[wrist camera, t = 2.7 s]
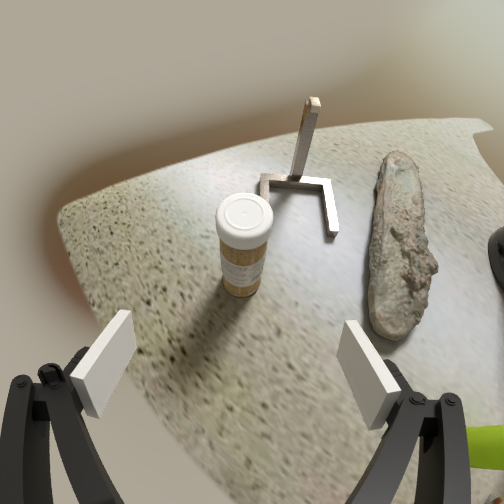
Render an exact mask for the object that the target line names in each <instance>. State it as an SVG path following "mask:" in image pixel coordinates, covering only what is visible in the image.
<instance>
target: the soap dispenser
mask: <svg viewBox="0 0 504 504" xmlns="http://www.w3.org/2000/svg"><path fill="white" fill-rule="evenodd" d="M466 432H467V440H468V449H469V460H470V467H471V468H481V469H494V470H504V425H497V426H483V427H466Z"/></svg>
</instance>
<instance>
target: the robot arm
mask: <svg viewBox="0 0 504 504" xmlns="http://www.w3.org/2000/svg"><path fill="white" fill-rule="evenodd" d="M488 251H489V258H490V262H491V266H492V269H493V271H494V274H495V276H496V278H497V280H498V282H499V284H500V286H501V287H502V289H503V290H504V226H503V227H501V228H499V229H498V230H496V231H495V232H494V233H493V234H492V235H491V237H490V239H489V244H488ZM136 348H137V344H136V338H135V333H134V327H133V320H132V314H131V311H128V310H119V312H118V313H117V314H116V315H115V317H114V318H113V319H112V320H111V322H110V323H109V324H108V325H107V327H106V328H105V329H104V331H103V332H102V333H101V334H100V336H99V337H98V338H97V340H96V341H95V342H94V344H93V345H92V346H91V348H90V347H84V348H82V349H80V350H79V351H78V352H77V353H76V354H75V356H74V358H72V359H71V361H70V362H69V363H68V365H67V366H66V367H65V369H64V370H63V371H62V370H61V368H60V366H59V365H57V364H54V363H48V364H45V365H43V366H42V367H40V368H39V370H38V376H39V379H40V381H41V383H33V382H32V380H31V378H30V377H29V376H27V375H19V376H17V377H15V378H14V379H13V380H12V382H11V385H10V390H9V394H8V398H7V403H6V407H5V412H4V417H3V423H2V429H1V436H0V504H53V497H52V488H51V477H50V454H49V431H50V421H51V425H52V429H53V432H54V436H55V440H56V443H57V446H58V450H59V453H60V456H61V459H62V462H63V464H64V467H65V470H66V473H67V475H68V477H69V481H70V483H71V485H72V488H73V490H74V493H75V495H76V497H77V500H78V502H79V504H124V502H123V500H122V499H121V497H120V495H119V494H118V492H117V490H116V488H115V487H114V485H113V483H112V481H111V479H110V477H109V475H108V474H107V472H106V470H105V468H104V466H103V464H102V462H101V459H100V457H99V455H98V453H97V451H96V449H95V447H94V444H93V442H92V440H91V437H90V435H89V433H88V430H87V428H86V425H85V422H84V420H83V417H82V415H81V411H82V410H83V408H84V410H85V412H86V414H87V415H88V416H91V417H94V418H98V419H100V417H101V415H102V413H103V411H104V409H105V407H106V405H107V403H108V401H109V399H110V397H111V395H112V393H113V391H114V389H115V388H116V386H117V384H118V382H119V380H120V378H121V376H122V374H123V372H124V370H125V368H126V367H127V365H128V363H129V361H130V359H131V357H132V355H133V354H134V352H135V350H136ZM336 356H337V358H338V361H339V363H340V365H341V367H342V370H343V372H344V374H345V376H346V379H347V381H348V383H349V385H350V388H351V390H352V392H353V395H354V397H355V399H356V402H357V404H358V406H359V409H360V411H361V414H362V416H363V418H364V421H365V423H366V425H367V428H368V430H374V429H379V428H382V427H383V425H384V423H385V421H387V424H388V428H387V430H386V431H385V433H384V435H383V436H382V438H381V439H382V440H381V442H380V444H379V446H378V448H377V450H376V452H375V454H374V456H373V458H372V460H371V461H370V463H369V465H368V467H367V469H366V470H365V472H364V474H363V476H362V477H361V479H360V481H359V482H358V484H357V486H356V487H355V489H354V490H353V492H352V493H351V495H350V497H349V498H348V500H347V501H346V503H345V504H390V503H391V501H392V499H393V497H394V495H395V493H396V491H397V489H398V487H399V485H400V482H401V480H402V478H403V475H404V473H405V471H406V468H407V466H408V463H409V461H410V458H411V455H412V453H413V450H414V447H415V444H416V441H417V438H418V436H420V445H419V464H418V477H417V486H416V495H415V502H414V504H471V477H470V460H469V449H468V440H467V432H466V425H465V419H464V413H463V407H462V402H461V399H460V398H459V397H458V396H457V395H455V394H453V393H445V394H443V395H442V396H441V398H440V399H439V400H427V398H426V397H425V396H424V395H423V394H421V393H419V392H415V391H413V390H412V388H411V387H410V385H409V384H408V382H407V381H406V379H405V378H404V376H402V373H401V372H400V371H399V369H398V367H397V366H396V364H394V363H393V362H392V361H390V360H389V359H387V360H382V359H381V357H380V356H379V354H378V352H377V351H376V349H375V348H374V346H373V345H372V343H371V342H370V340H369V339H368V337H367V336H366V334H365V333H364V331H363V330H362V328H361V327H360V325H359V324H358V322H357V321H356V320H345V323H344V327H343V331H342V336H341V340H340V344H339V348H338V352H337V355H336Z"/></svg>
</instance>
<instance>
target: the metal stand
mask: <svg viewBox="0 0 504 504" xmlns="http://www.w3.org/2000/svg"><path fill="white" fill-rule="evenodd" d="M320 108H321V105H320V102H319V99H318V98H316V97H310V98H309V101H307V100H306V101H305V105H304V110H303V115H302V120H301V124H300V129H299V134H298V139H297V143H296V148H295V153H294V157H293V162H292V166H291V171H290V175H277V174H263V173H261V174H260V197H262V198H263V199H264V200H265V201H267V203H268V204H269V187H279V188H292V189H305V190H316V191H321V195H322V202H323V208H324V215H325V223H326V230H327V236H331V237H336V235H337V233H338V232H339V228H338V222H337V216H336V210H335V204H334V199H333V193H332V188H331V183H330V179H322V178H312V177H302V174H303V170H304V167H305V163H306V159H307V155H308V152H309V148H310V144H311V140H312V136H313V132H314V128H315V124H316V120H317V116H318V113H319V112H320Z"/></svg>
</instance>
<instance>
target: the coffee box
mask: <svg viewBox="0 0 504 504" xmlns="http://www.w3.org/2000/svg"><path fill="white" fill-rule="evenodd" d="M485 504H504V497H503V496H497V495H493V494H491V495H490V497H489V498H488V500H487V501H486V503H485Z"/></svg>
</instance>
